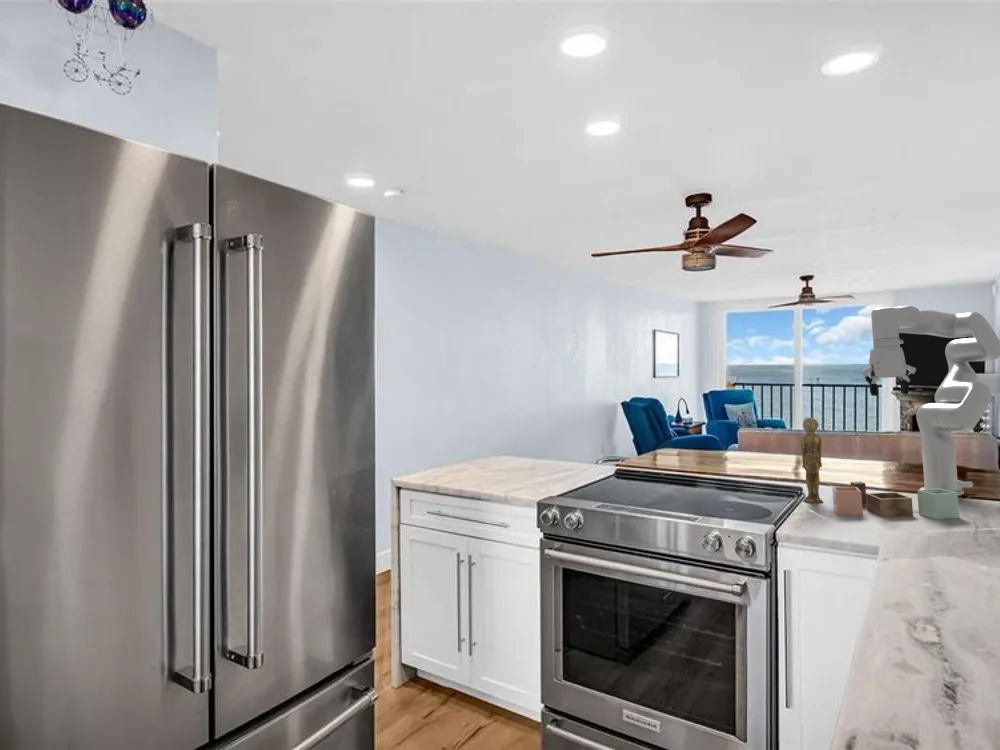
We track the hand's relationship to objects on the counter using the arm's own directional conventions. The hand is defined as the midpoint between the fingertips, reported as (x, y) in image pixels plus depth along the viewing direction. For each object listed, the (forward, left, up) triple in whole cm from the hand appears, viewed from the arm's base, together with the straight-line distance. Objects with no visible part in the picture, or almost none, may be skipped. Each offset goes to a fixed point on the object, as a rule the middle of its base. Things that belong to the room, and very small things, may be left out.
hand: (889, 394), depth 206 cm
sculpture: (+26, -2, -36) cm, 45 cm away
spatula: (+5, +11, -36) cm, 38 cm away
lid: (+14, +4, -37) cm, 39 cm away
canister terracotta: (+22, +14, -36) cm, 45 cm away
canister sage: (0, +23, -36) cm, 43 cm away
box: (+11, +17, -36) cm, 42 cm away
